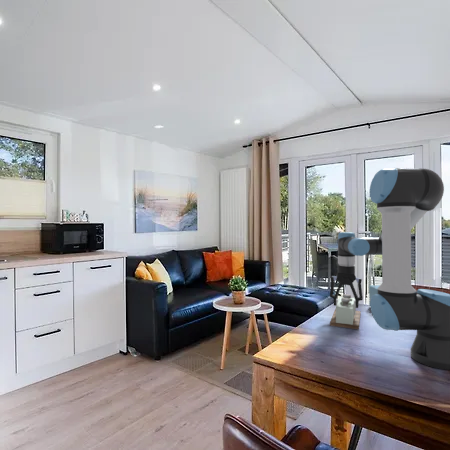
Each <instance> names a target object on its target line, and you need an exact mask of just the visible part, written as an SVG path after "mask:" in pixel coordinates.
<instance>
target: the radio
mask: <svg viewBox="0 0 450 450" xmlns="http://www.w3.org/2000/svg"><path fill="white" fill-rule="evenodd" d="M375 274H376V273H375V271H373V284H371V285H369V287H368V288H369V289H368V291H369V295H368V297H369V300H368V302H369V303H368V306H369V307H371V305H370V301H371V299H372V298H371V297H372V296H373V295H375V294H378V287H379V286H380V285H381V284H380V285H376V278H375V277H376V276H375Z"/></svg>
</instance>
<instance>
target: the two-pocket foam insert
mask: <svg viewBox="0 0 450 450" xmlns="http://www.w3.org/2000/svg"><path fill="white" fill-rule="evenodd" d="M342 298H343V296H339V298H338V303H337V306H335V308H336V323H342V324H351V325H353V320H354V300H355V297H351V298H349V299H350V302H349V303H348V307H345V306H343V302H342V301H341V299H342Z"/></svg>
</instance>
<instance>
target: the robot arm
mask: <svg viewBox="0 0 450 450" xmlns="http://www.w3.org/2000/svg"><path fill="white" fill-rule="evenodd" d="M444 192H445V186H444V182H443V180H442V178H441V177H440V175H439V174H438V173H436V172H435V171H433V170H431V169H428V168H424V167H423V168H422V167H421V168H411V167H410V168H407V167H406V168H405V167H402V168H401V167H392V168H383V169H380V170H378V171H376V173H375V174H374V176H373V178H372V179H371V181H370V186H369V193H368V194H369V198H370V201H371V202H372V203H374V204H376V210H378V212H380V214H381V234H380V236H378V237H356V234H355V232H353V231H352V232H351V231H350V232H349V231H348V232H347V231H344V232H343V231H340V232H338V235H337V275H336V276H335V275H331V277H330V281H331V285H330V293H329V297H330V298H331V299H333V306H335V307H336V306H337V303H338V301H339V298H338V296H339V293H340V290H341V289H342V286H345V285H346V286H350V289H351V293H352V294H353V298H355V300H354V315H356V311H357V309H359V302H360V301H363V298H364V296H363V290H362V280H363V278H361V277H356V266H355V264H356V257H358V256H359V257H362V256H374V255H376V256H378V255H379V256H381V265H382V266H381V267H382V270H381V271H382V272H381V273H382V274H381V275H382V278H381V281H382V282H381V284H380V286H379V287H378V294H375V295H373V296H372V297H371V298H372V299H371V301H370V300H369V301H370V305H371V306H370V311H371V314H372V317H373V319H374V320H375V323H376V324H377V325H378V327H379V328H380V329H383V330H386V331H394V332H395V331H396V332H398V331H416V335H415V338H414V340H413V343H412V345H411V347H410V357H411V358H412V359H413V360H414V361H416V362H417V363H420V364H422V365H424V366H427V367H431V368H434V369H438V370H439V369H440V370H445V371H446V370H448V371H449V370H450V293H448V292H447V293H446V292H444V291H438V290H434V289H426V288H425V289H424V288H418V289H415V288H414V286H412V240H411V239H412V238H411V237H412V236H411V234H412V233H411V232H412V231H411V230H413V228H414V227H415V226H416V225H417V224H418V222H420V221H421V219H422V218H423V217H424V216H425V214H427V212H430V211H433V210H434V209H435V208H436V207H437V206H438V205H439V204H440V202H441V200H442V198H443V196H444ZM337 280H338V282H339V284H338V287H337V289H336V291H334V290H335V283H336V281H337ZM355 281H356V283H357V287H358V293H357V291H356V289H355V287H354V284H353V283H354V282H355ZM334 292H335V294H334ZM358 295H359V297H358Z"/></svg>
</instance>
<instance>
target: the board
mask: <svg viewBox="0 0 450 450" xmlns="http://www.w3.org/2000/svg"><path fill="white" fill-rule="evenodd" d="M342 297H343V298H342V299H341V301H342V302H343V306H345V307H348V303H349V302H350V299H349V298H352V295H351V294H347V293H346V294H343V295H342ZM361 316H362V314H361V311H360V310H356V315H354V320H353V325H351V324H342V323H336V307H335V309H334V312H333V313H332V316H331V319H330V321H329V326H331V327H338V328H346V329H353V330H354V329H355V330H359V329H360V323H361Z"/></svg>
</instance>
